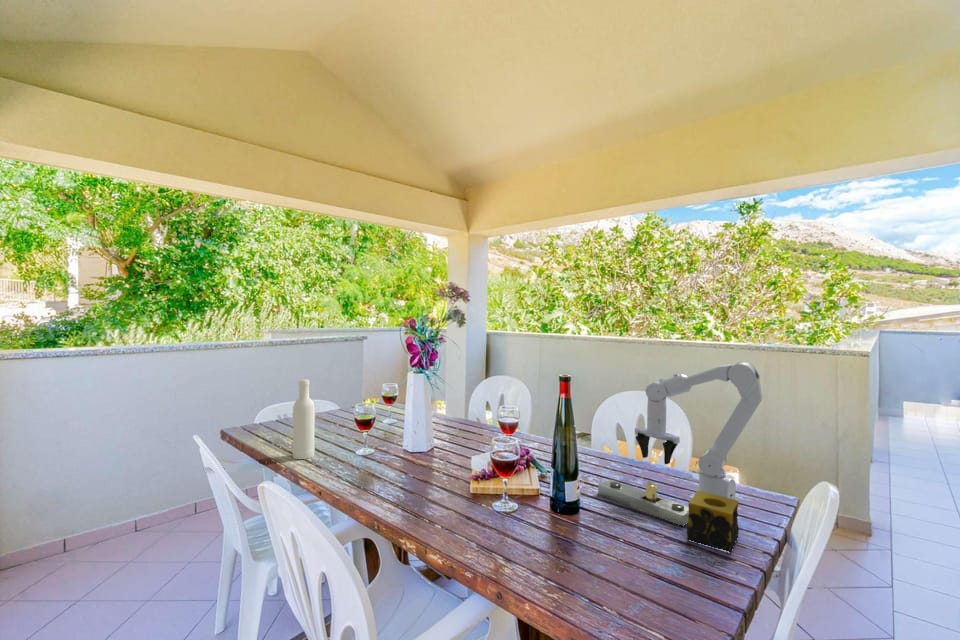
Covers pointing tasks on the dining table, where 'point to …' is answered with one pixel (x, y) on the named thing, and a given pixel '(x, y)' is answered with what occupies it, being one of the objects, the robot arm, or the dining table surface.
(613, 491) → the bolted metal base plate
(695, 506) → the yellow block with hole
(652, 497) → the pin
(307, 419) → the bottle
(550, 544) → the dining table surface
